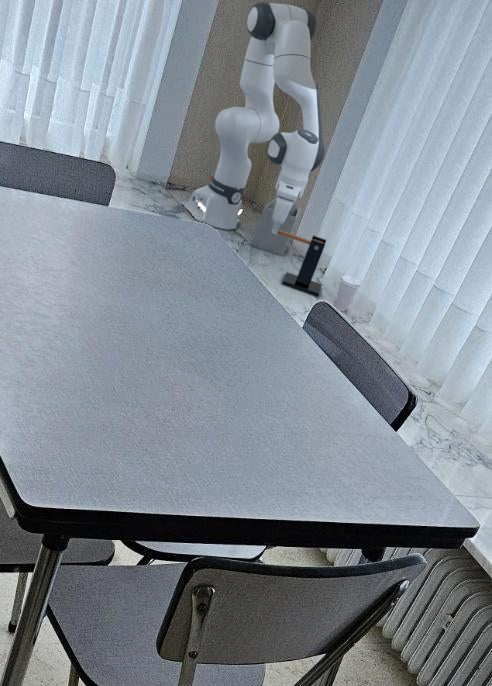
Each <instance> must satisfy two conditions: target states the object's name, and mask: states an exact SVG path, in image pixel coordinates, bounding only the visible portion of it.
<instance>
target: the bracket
mask: <svg viewBox="0 0 492 686" xmlns="http://www.w3.org/2000/svg"><path fill="white" fill-rule="evenodd" d="M314 239H316V240H314ZM317 240H319V241H317ZM310 241H311V243H310V245H309V244H308V247H307V250H306V253H305V256H304V258H303V261H302V263H301V266H300V269H299V271H298V274H294V273H292V272H291V273H290V272H288V271H286V272H285V274H284V278H283V281H282V283H281V284H282V285H283V286H285V287H289V288H290V289H291V288H292V289H294V290H297V291H300V292H303V293H305V294H308V295H311V296H314V297H317V298H318V297H319V295H320V292H321V290H322V289H321V288H322V283H319V282H316V281H314V280H313V278H314V274H315V272H316V269H317V268H318V264H319V262H320V259H321V256H322V254H323V252H324V249H325V248H326V247H325V246H326V243H327V239H326V238H323V237H320V236H317V235H312V237H311V240H310ZM320 241H321V242H320ZM322 242H323V243H322Z"/></svg>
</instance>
